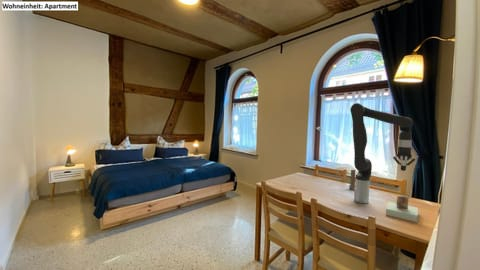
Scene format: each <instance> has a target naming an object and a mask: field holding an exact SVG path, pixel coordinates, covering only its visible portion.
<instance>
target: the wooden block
mask: <svg viewBox="0 0 480 270" xmlns="http://www.w3.org/2000/svg"><path fill="white" fill-rule="evenodd" d="M349 180H350V181H349V183H350V184H349V185H348V187H349V188H348V189H349V190H351V191H354V190H355V184H356V169H352V168H351V169H350V179H349Z"/></svg>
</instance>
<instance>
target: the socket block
mask: <svg viewBox="0 0 480 270" xmlns="http://www.w3.org/2000/svg"><path fill="white" fill-rule="evenodd" d="M396 206H397V202H396V203H395V202H392V201H388V202H387V205H386V208H385V215H386V216H390V217H393V218H399V219H402V220H406V221H407V220H408V221H411V222H415V223H418V217H419V208H418V207H416V206H411V205H408V210H401V209H398V208H397V207H396Z"/></svg>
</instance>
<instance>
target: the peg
mask: <svg viewBox="0 0 480 270" xmlns="http://www.w3.org/2000/svg"><path fill="white" fill-rule="evenodd" d="M396 203H397V206H396V207H397V208H398V209H401V210H408V206H409V196H407V195H404V194H397V195H396Z"/></svg>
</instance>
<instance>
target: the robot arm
mask: <svg viewBox="0 0 480 270" xmlns="http://www.w3.org/2000/svg"><path fill="white" fill-rule="evenodd" d="M349 110H350V115H351V119H352V120H351V121H352V140H353V149H354V158H353V159H354V160H353V161H354V162H353V163H354V168H355V170H357V173H355V178H356V182H355V190H353V191H354V194H353V195H354V196H353V201H354V202H357V203H360V204H369V202H370V201H369V200H370V179H371V176H372V169H373V166H372V165H373V164H372V160H371V159H369V158H367V157H366V147H367V143H368V134H367V128H366V125H365V121H364V120H365V119H364V118H370V119H374V120H377V121H379V122H383V123H386V124H390V125H394V126H399V134H398V142H397V153H396V155H394V156H393V157H392V158H393V160H394V161H395V162H396V163H397V165H400V170H401V171H403V172H405V171H406V169H407V166H410V165H411V164H413V163H414V162H415V161H416V158H415V157H413V155H412V147H413V146H412V139H413V136H412V135H413V134H412V130H413V129H412V128H413V124H414V120H413V119H412V118H410V117H408V116H402V115H398V114H394V113H391V112H387V111H382V110H381V111H380V110H377V109H372V108H368V107H366V106H364V105H363V104H362V103H358V102H356V103H354V104H352V105H351V106H350V109H349ZM398 159H399V160H398ZM409 160H410V161H409Z"/></svg>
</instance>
